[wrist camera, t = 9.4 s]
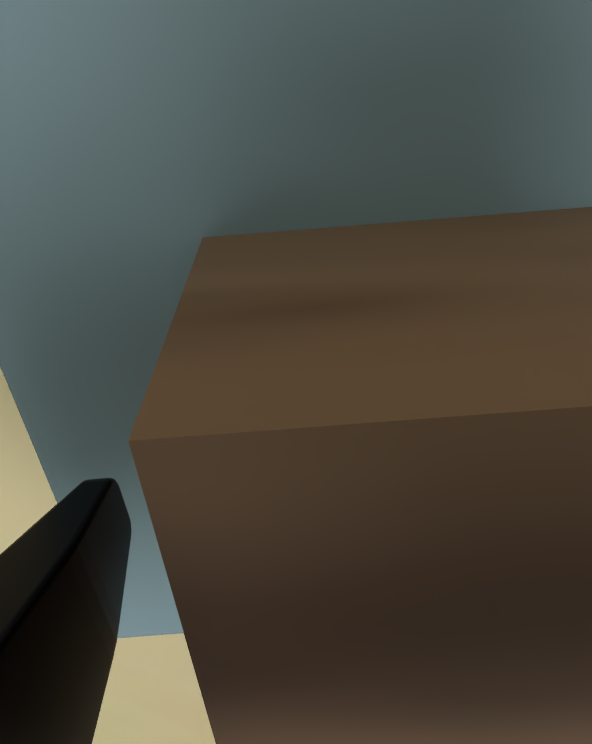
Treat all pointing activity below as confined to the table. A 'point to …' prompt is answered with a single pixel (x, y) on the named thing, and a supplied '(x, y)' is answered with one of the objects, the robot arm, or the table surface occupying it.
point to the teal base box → (242, 176)
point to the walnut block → (382, 480)
